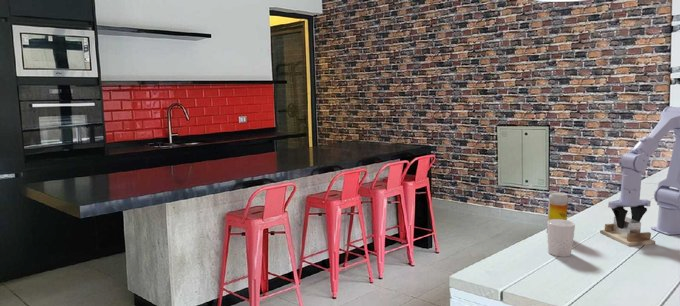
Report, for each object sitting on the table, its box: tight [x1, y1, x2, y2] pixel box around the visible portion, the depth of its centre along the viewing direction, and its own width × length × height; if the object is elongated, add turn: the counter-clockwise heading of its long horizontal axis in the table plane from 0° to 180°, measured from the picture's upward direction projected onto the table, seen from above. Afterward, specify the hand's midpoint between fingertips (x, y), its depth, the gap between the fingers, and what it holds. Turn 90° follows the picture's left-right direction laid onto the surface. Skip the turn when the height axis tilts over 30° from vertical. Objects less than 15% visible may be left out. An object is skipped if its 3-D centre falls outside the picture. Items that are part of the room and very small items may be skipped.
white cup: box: [547, 219, 576, 258], centre depth 165 cm, size 8×8×10 cm
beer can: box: [546, 191, 569, 235], centre depth 182 cm, size 6×6×15 cm
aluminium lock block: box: [612, 216, 642, 238], centre depth 180 cm, size 4×8×6 cm, turn 10°
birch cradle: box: [599, 223, 656, 247], centre depth 180 cm, size 10×14×4 cm
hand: (627, 227), depth 180 cm, fingers open, 5 cm apart
